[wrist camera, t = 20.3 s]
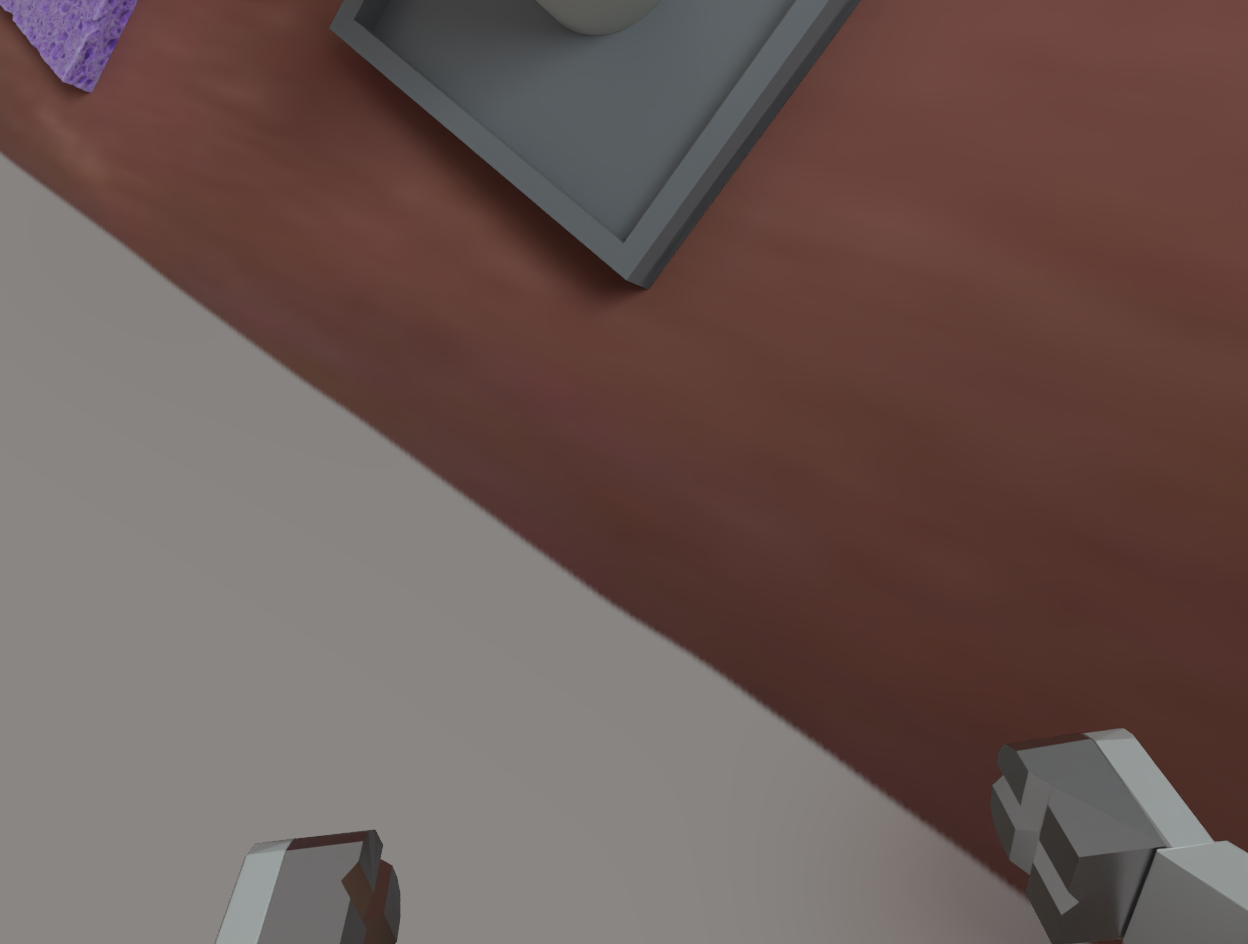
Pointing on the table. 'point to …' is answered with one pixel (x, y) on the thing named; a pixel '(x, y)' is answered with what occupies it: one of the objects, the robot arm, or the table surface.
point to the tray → (602, 102)
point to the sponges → (72, 34)
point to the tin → (598, 14)
